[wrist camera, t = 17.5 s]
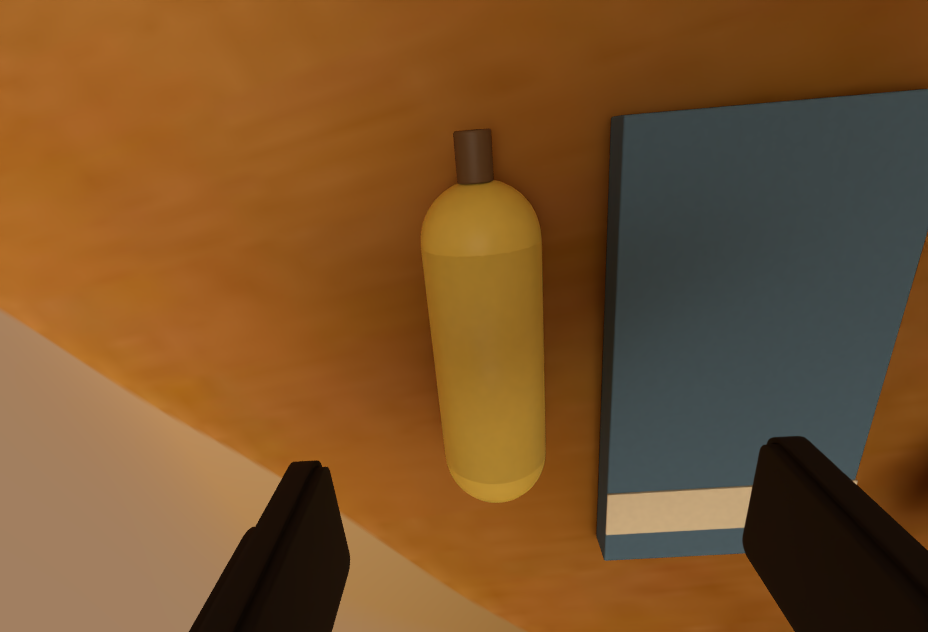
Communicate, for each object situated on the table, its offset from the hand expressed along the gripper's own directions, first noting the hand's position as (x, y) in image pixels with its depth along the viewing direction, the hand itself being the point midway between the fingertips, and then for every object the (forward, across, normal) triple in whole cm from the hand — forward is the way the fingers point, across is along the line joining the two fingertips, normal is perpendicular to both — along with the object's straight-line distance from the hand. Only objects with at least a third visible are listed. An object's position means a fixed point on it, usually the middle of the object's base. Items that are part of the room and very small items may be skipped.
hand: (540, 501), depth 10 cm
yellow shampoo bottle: (+10, +1, 0) cm, 10 cm away
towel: (+10, -10, +2) cm, 14 cm away
